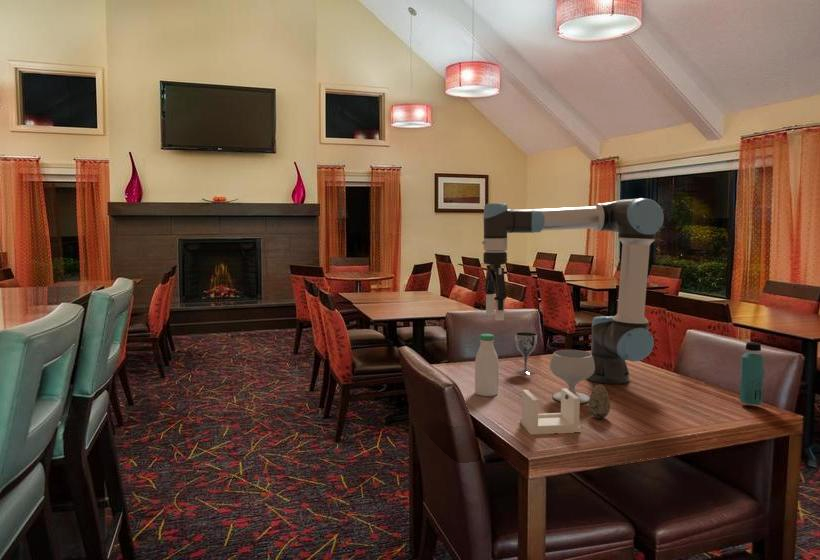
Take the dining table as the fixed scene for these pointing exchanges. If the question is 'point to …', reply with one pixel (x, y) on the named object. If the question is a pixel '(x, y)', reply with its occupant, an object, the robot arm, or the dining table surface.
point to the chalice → (572, 369)
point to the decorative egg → (599, 402)
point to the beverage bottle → (752, 375)
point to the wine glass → (525, 348)
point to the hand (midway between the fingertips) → (494, 316)
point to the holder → (551, 415)
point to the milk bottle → (486, 367)
